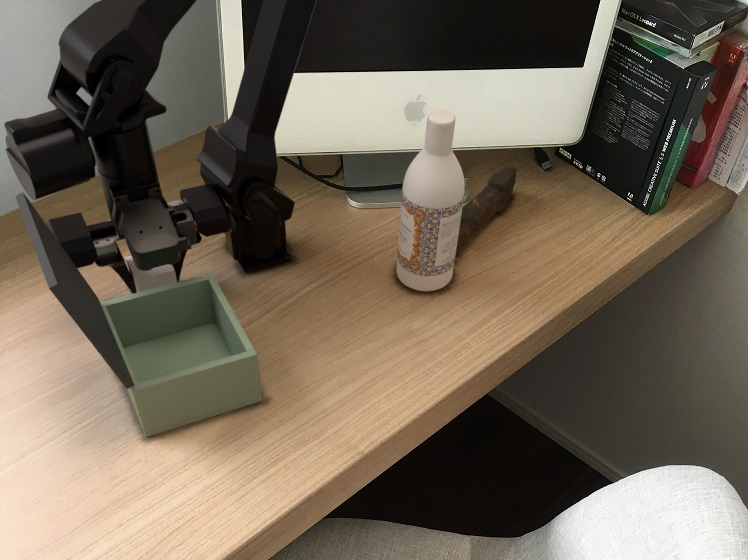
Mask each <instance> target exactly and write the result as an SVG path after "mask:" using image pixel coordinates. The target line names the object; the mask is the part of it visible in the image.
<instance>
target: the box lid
mask: <svg viewBox="0 0 748 560" xmlns="http://www.w3.org/2000/svg"><path fill="white" fill-rule="evenodd" d="M14 197H15V199H16V202H17V205H18V208H19V210H20V214H21V216H22V219H23V222H24V224H25V227H26V229H27V233H28V235H29V238H30V241H31V243H32V246H33V248H34V251H35V254H36V257H37V260H38V262H39V265H40V268H41V271H42V273H43V277H44V279H45V281H46V284H47V287H48V289H49V290H50V292H51V293H52V295H53V296H54V297H55V298H56V300H57V301H58V302H59V303H60V305H61V306H62V307H63V309H64V310H65V312H66V313H67V314H68V315H69V316H70V318H71V320H73V322H75V324H76V325H77V327H78V328H79V329H80V331H81V332H82V333H83V334H84V336H85V337H86V338H87V340H88V341H89V343H90V344H91V345H92V346H93V347H94V349H95V350H96V351H97V353H98V354H99V355H100V357H102V359H103V360H104V361H105V363H106V364H107V365H108V367H109V368H110V369H111V371H112V372H113V373H114V374H115V375H116V377H117V379H118V380H119V381H120V382H121V383H122V385H123V386H124V388H125V389H126V388H127V389H129V388H131V387H133V386H134V383H133V380H132V378H131V375H130V373H129V371H128V368H127V366H126V363H125V361H124V359H123V356H122V354H121V351H120V349H119V347H118V344H117V342H116V339H115V337H114V335H113V332H112V330H111V327H110V325H109V323H108V320H107V318H106V315H105V313H104V311H103V308H102V306H101V303H100V302H101V301H100V299H99V297H98V295H97V294H96V292H95V291H94V290H93V288H92V287H91V286H90V284H89V283H88V281H87V279H86V278H85V277H84V276H83V275H82V273H81V272H80V270H79V268H77V267H76V266H75V264H74V263H73V262H72V260H71V259H70V257H69V256H68V255H67V253H66V252H65V250H64V249H63V248H62V246H61V245H60V243H59V242H58V241H57V239H56V238H55V236H54V235H53V233H52V232H51V231H50V229H49V228H48V226H47V223H46V222H45V221H44V219H43V218H42V216H41V215H40V214H39V212H38V211H37V209H36V208H35V206H34V205H33V204H32V203H31V201H30V200H29V198H28V197H27V196H26V194H25V192H23V191H22V192H20V193H18V194H16V195H15V196H14ZM127 389H126V390H127Z"/></svg>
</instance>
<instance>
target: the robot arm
mask: <svg viewBox="0 0 748 560" xmlns="http://www.w3.org/2000/svg"><path fill="white" fill-rule="evenodd" d="M197 2H198V0H99V1H96V2H94V3H93V4H92V5H90V6H89V7H88V8H86V9H85V10H83V12H81V13H80V14H79V15H78V16H77V17H75V18H74V19H73V20H71V22H70V23H68V25H66V26H65V28H64V30H63V31H62V33H61V34H60V37H59V40H58V47H59V60H58V64H57V66H56V70H55V73H54V76H53V78H52V81H51V84H50V88H49V89H48V93H47V100H48V102H50V104H52V105H53V106H54V108H55V109H51V110H49V111H45V112H42V113H39V114H36V115H32V116H29V117H22V118H20V117H19V118H15V119H12V120H8V121H5V122H4V124H3V126H4V129H5V132H6V134H7V135H5V138H4V140H5V145H6V148H5V150H4V151H5V152H6V155H7V158H8V161H9V163H10V166H11V167H12V170H13V172H14V174H15V176H16V178H17V179H18V181H19V183H20V185H21V186H22V189H23V190H24V192H25V193H26V194H27V195H28V196H29V198H30V199H31V200H34V201H36V200H38V199H41V198H45V197H47V196H50V195H53V194H56V193H59V192H61V191H65V190H68V189H70V188H73V187H77V186H80V185H82V184H85V183H89V182H90V180H91V179H93V178H96V169H97V172H98V173H97V174H98V177H99V181H100V183H101V188H102V191H103V195H104V199H105V202H106V206H107V210H108V214H109V219H107V220H106V221H102V222H97V223H93V224H89V225H87V223H86V221H85V219H84V215H83V214H82V212H75V213H72V214H67V215H62V216H58V217H53V218H49V219H48V221H47V222H46V225H47V226H48V228H49V229H50V231H51V232H52V233H53V235H54V236H55V238H56V239H57V241H58V242H59V243H60V245H61V246H62V248H63V249H64V250H65V252H66V253H67V255H68V256H69V257H70V259H71V260H72V262H73V263H74V264H75V266H76V267H77V269H81V268H84V267H89V266H92V265H93V264H94V263H95V265H96V266H97V267H99V268H104V267H109V268H111V269H112V270H113V271H114V272H115V273H116V274H117V275H118V276H119V277H120V279H121V280H122V281H123V283H124V284H125V286H126V287H127V288H128V289H129V291H130V292H131V294H134V293H137V291H136V286H135V283H134V281H133V279H132V277H131V274H130V272H129V270H128V267H127V264H126V260H125V257H124V256H123V253H122V252H121V250H120V247H119V245H118V243H117V242H118V241H122V240H125V243H126V245H127V248H128V250H129V253H130V256H132V258H133V261H134V264H135V266H136V267H137V268H138V269H139V270H142V271H148V270H151V269H153V268H156V267H160V266H164V265H168V264H169V265H172V266H173V268H174V270H175V274H176V279H177V282H180V280H181V279H180V278H181V275H182V270H183V266H184V261H185V259H186V255H187V253H188V251H189V250H191V249H192V247H194V246H195V245H198V244H200V243H201V242H202V240H203V238H202V236H203V237H205V238H209V237H211V236H216V235H220V234H224V235H225V242H226V243H225V244H226V249H227V250H228V252H229V254H230V256H231V257H232V259H233V260H234V261H236V262H237V263H238V266H239V267H240V270H242V272H245V273H247V272H248V273H249V272H251V271H255V270H259V269H263V268H267V267H271V266H274V265H278V264H281V263H286V262H290V261H292V260H293V254H292V253H291V251H290V249H289V248H288V245H287V229H286V227H287V226H286V221H289V220H291V219H292V216H293V212H294V207H295V204H296V203H295V201H294V200H293V199H292V198H291V197H290V196H288V195H287V194H286V193H285V192H284V191H283V190H282V189H280V188H279V187H278V186H277V185H276V181H277V176H278V171H279V162H278V156H277V155H278V154H277V146H276V133H277V129H278V126H279V122H280V119H281V115H282V112H283V110H284V107H285V103H286V101H287V97H288V94H289V90H290V87H291V84H292V81H293V77H294V75H295V71H296V68H297V66H298V65H297V64H298V62H299V58H300V56H301V52H302V49H303V46H304V42H305V40H306V36H307V33H308V31H309V26H310V24H311V20H312V17H313V13H314V11H315V7H316V5H317V0H263V1H262V4H261V7H260V11H259V15H258V18H257V23H256V26H255V30H254V33H253V36H252V41H251V43H250V47H249V51H248V53H247V58H246V62H245V66H244V69H243V73H242V77H241V80H240V83H239V87H238V91H237V94H236V98H235V101H234V105H233V107H232V108H233V109H232V112H231V115H230V116H229V118H228V119H226V121H224V123H223V124H222V125H221V126H220V127H219V128H216V127H214V126H212V125H208V126H207V127H206V130H205V131H204V132H205V133H204V141H203V145H202V149H201V151H200V153H199V154H198V156H197V157H196V160H197V162H198V163H200V168H199V173H200V177H201V178H202V181H203V183H204V184H201V185H198V186H192V187H188V188H184V189H180V191H179V197H180V199H176V200H172V201H167V199H165V197H164V195H163V191H162V189H161V184H160V179H159V174H158V170H157V164H156V160H155V154H154V149H153V144H152V139H151V134H150V129H149V124H148V119H151V118H154V117H157V116H161V115H163V114H166V112H167V110H168V109H167V106H166V105H165V104H164V103H162V101H160V100H159V99H158V98H157V97H156V96H155V95H154V94H153V93H151V92H150V91H149V90H147V88H148V86H149V85H150V83H151V81H152V80H153V78H154V77H155V74H156V73H157V71H158V69H159V67H160V62H161V60H162V59H161V58H162V55H163V50H164V46H165V43H166V41H167V40H168V38H169V36H170V35H171V33H172V31H174V29H175V28H176V27H177V26H178V24H179V23H180V22H181V21H182V20H183V18H185V16H186V14H188V12H189V11H190V10H191V9H192V8H193V6H194V5H195V4H196V3H197ZM81 89H83V91H84V92H86V94H88V95H89V96H90V97H91V101H90V103H89V104H88V103H87V102H86V100H84V99H83V98H82V97H81V96H80V95H79V94H78V92H79V91H80V90H81Z"/></svg>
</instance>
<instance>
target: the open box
mask: <svg viewBox="0 0 748 560" xmlns="http://www.w3.org/2000/svg"><path fill="white" fill-rule="evenodd" d="M100 303H101V306H102V308H103V311H104V313H105V315H106V318H107V320H108V323H109V325H110V327H111V330H112V332H113V335H114V337H115V339H116V342H117V344H118V347H119V349H120V351H121V354H122V356H123V359H124V361H125V363H126V366H127V368H128V371H129V373H130V375H131V378H132V380H133V383H134V386H133V387H131V388H129V389H127V388H126V387H125V389H126V392H127V394H128V396H129V399H130V401H131V404H132V406H133V408H134V411H135V413H136V416H137V418H138V420H139V423H140V425H141V428H142V431H143V434H144V436H145V438H148V437H151V436H155V435H159V434H162V433H165V432H168V431H170V430H173V429H177V428H181V427H183V426H187V425H190V424H193V423H196V422H200V421H202V420H205V419H209V418H212V417H215V416H219V415H222V414H225V413H228V412H232V411H234V410H235V411H236V410H237V409H238V410H239V409H241V408H244V407H247V406H251V405H254V404H257V403H260V402H262V401H263V393H262V385H261V377H260V376H261V375H260V368H259V358H258V353H257V352H256V350H255V348H254V346H253V344H252V342H251V341H250V339H249V337H248V335H247V333H246V331H245V330H244V328H243V326H242V324H241V322H240V321H239V319H238V317H237V315H236V313H235V311H234V310H233V308H232V306H231V304H230V302H229V300H228V298H227V297H226V295H225V294H224V291H223V289H222V288H221V286H220V285H219V283H218V281H217V279H216V277H215V275H214V273H208V274H205V275H200V276H197V277H192V278H189V279H185V280H182V281H179V282H177V283H173V284H169V285H165V286H161V287H158V288H154V289H150V290H146V291H142V292H138V293H134V294H133V293H130V294H127V295H123V296H119V297H115V298H112V299H108V300H104V301H100Z"/></svg>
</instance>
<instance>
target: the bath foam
mask: <svg viewBox="0 0 748 560" xmlns="http://www.w3.org/2000/svg"><path fill="white" fill-rule="evenodd" d="M455 125H456V115H455V114H454V113H453V111H450V110H448V109H443V108H438V109H437V108H436V109H433V110H431V111H429V112H428V114H427V116H426V126H425V136H424V147H423V148H422V149H421V150H420V151H419V152H418V153H417V154H416V156H415V157H414V158H413V159H412V161H411V162H410V164H409V166H408V167H407V169H406V172H405V175H404V177H403V182H402V187H401V199H400V201H401V202H400V212H399V225H398V226H399V227H398V238H397V239H398V240H397V241H398V242H397V254H396V269H395V270H396V276H397V278H398V280H399V281H400V282H401V283H402V284H403V285H404V286H405V287H407V288H410V289H412V290H415V291H417V292H419V291H420V292H432V291H437V290H440V289H442V288H445V287H446V286H447V285H448V284H449V283H450V282H451V280H452V277H453V274H454V266H455V260H456V254H457V253H456V248H457V241H458V234H459V227H460V221H461V214H462V207H463V206H464V200H465V176H464V172H463V169H462V167H461V164H460V163H459V160H458V159H457V156H456V154H455V153H454V151H453V142H454V135H455V128H456V126H455Z"/></svg>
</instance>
